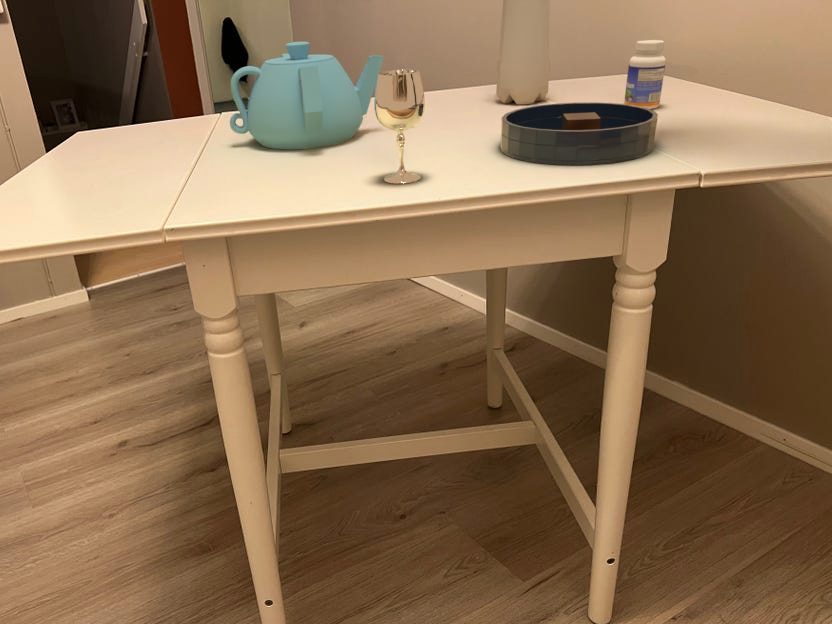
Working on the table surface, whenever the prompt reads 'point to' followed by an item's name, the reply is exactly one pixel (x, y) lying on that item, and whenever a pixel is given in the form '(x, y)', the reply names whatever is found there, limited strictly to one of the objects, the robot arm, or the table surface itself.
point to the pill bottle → (645, 75)
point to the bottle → (524, 52)
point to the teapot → (303, 100)
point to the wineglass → (399, 110)
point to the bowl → (578, 134)
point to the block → (581, 121)
